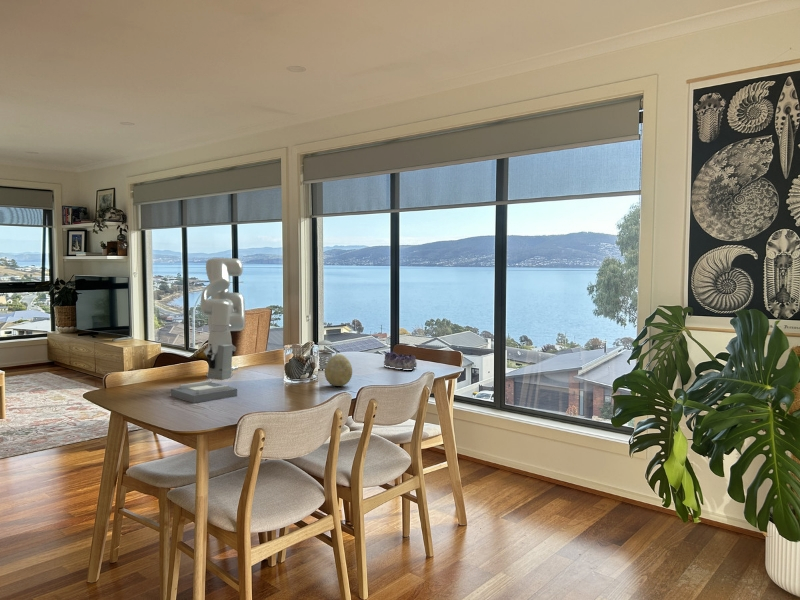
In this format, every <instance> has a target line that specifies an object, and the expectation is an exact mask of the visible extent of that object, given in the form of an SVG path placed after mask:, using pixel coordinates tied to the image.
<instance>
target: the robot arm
mask: <svg viewBox="0 0 800 600" xmlns="http://www.w3.org/2000/svg"><path fill="white" fill-rule="evenodd" d="M243 267H244V266H243V262H242V260H241V258H228V257H226V258H224V257H213V258H209V259H208V260H207V261H206V263H205V270H206V276H207V279H208V281H209V283H208V284H207V285H206V287H204V289H203V290H202V292H201V296H200V311H201V313H202V314H203V315H205V316H207V317H208V318H207V324H208V331H209V333H208V334H209V335H208V341H207V347H206V348H205V349H204V350H203V354H204V355H205V357H206V358H207V359H208V368H209V367H210V368H212V369H214V368H215V360H213V359H214V357H215V355H216V354H218V348H219V345H229V344H231V345H233V350H232V356H233V355H234V354H235V353H236V350H237V349H238V347H236V346H235V345H234V344H233V342H232V341H233V339H232V334H231V332H239V331H242V330H244V329H245V326H246V307H245V298H244V295H243V294H242V293H239V292H230V285H231V277H241V276H242V274H243V270H244V269H243ZM210 297H211V298H210ZM211 349H212V351H211ZM210 351H211V352H210ZM209 353H210V354H209ZM238 370H239V366H236V365H235V366H232V365H231V377H232V376H233V375H234V373H233V371H238ZM206 377H207V378H208V372H207V373H206Z"/></svg>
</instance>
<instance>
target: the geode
mask: <svg viewBox="0 0 800 600" xmlns="http://www.w3.org/2000/svg"><path fill="white" fill-rule="evenodd" d="M384 365H386V366H390V367H395V368H402V369H413V368H414V367H416V368H417V366H418V365H417V360H416V356H415V355H413V354H412V355H411V354H402V353H400V354H397V353H396V352H395V351H393V350H392V351H390V352H388V351H387V353H384V361H383V366H384ZM414 369H415V368H414ZM414 369H413V370H414Z"/></svg>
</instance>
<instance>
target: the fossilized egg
mask: <svg viewBox="0 0 800 600" xmlns="http://www.w3.org/2000/svg"><path fill="white" fill-rule="evenodd" d="M327 361H328V360H327ZM326 363H327V364H326V366H325V370H324V377H325V380H326V381H327V383H329V385H331V386H332V387H335V386H341V387H344V386H345V385H347V384H348V383H349V382H350V381H351V379H352V376H353V367H352V364H351V362H350V360H349V359H348V358H347V357H346V356H345V355H343V354H340V353H337V354H336V353H335V354H334V355H332V357H331V358H330V359H329V361H328V362H326ZM343 385H344V386H343Z"/></svg>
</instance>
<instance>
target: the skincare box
mask: <svg viewBox="0 0 800 600" xmlns="http://www.w3.org/2000/svg"><path fill="white" fill-rule="evenodd" d="M233 345H234V344H232V345H231V344H229V345H219V348H218V354H216V355H215V357H214V359H213V360H215V368H214V369H212V368H210V367H209V366H208V370H207V373H208V377H207V378H208V379H210V380H219V381H225V380H228V379H231V377H232V376H231V366H232V364H233V363H232V362H233V360H232V359H233V355H232V350H233ZM211 351H212V349H211ZM211 351H210V352H211ZM209 354H210V353H209Z"/></svg>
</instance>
